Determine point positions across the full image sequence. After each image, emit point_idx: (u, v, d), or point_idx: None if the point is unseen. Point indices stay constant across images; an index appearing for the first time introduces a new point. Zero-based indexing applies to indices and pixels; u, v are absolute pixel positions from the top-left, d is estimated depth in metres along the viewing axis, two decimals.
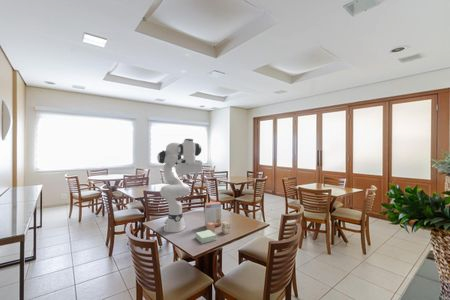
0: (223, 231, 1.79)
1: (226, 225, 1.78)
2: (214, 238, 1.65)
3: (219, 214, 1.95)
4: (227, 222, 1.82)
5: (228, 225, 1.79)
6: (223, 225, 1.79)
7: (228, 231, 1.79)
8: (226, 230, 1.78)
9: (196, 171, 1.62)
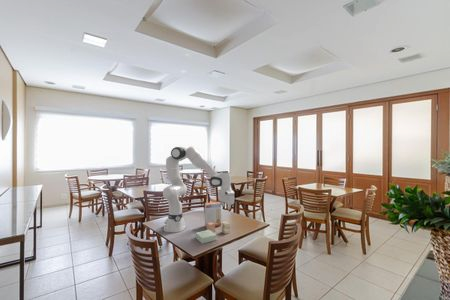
0: (223, 231, 1.79)
1: (226, 225, 1.78)
2: (214, 238, 1.65)
3: (219, 214, 1.95)
4: (227, 222, 1.82)
5: (228, 225, 1.79)
6: (223, 225, 1.79)
7: (228, 231, 1.79)
8: (226, 230, 1.78)
9: None
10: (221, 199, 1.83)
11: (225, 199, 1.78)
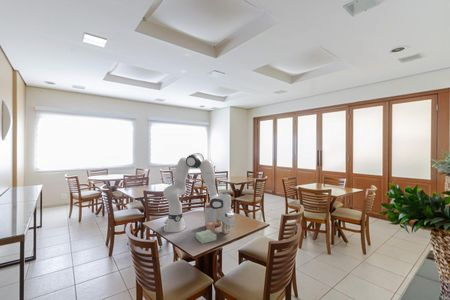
0: (223, 231, 1.79)
1: (226, 225, 1.78)
2: (214, 238, 1.65)
3: None
4: None
5: None
6: (223, 225, 1.79)
7: (228, 231, 1.79)
8: (226, 230, 1.78)
9: None
10: (221, 220, 1.83)
11: (225, 220, 1.78)
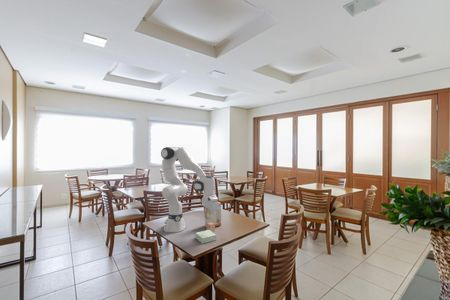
0: (206, 216, 1.68)
1: (209, 210, 1.67)
2: (214, 238, 1.65)
3: (219, 214, 1.95)
4: None
5: None
6: (206, 210, 1.68)
7: (211, 216, 1.68)
8: (209, 215, 1.67)
9: None
10: (204, 205, 1.72)
11: (208, 205, 1.67)
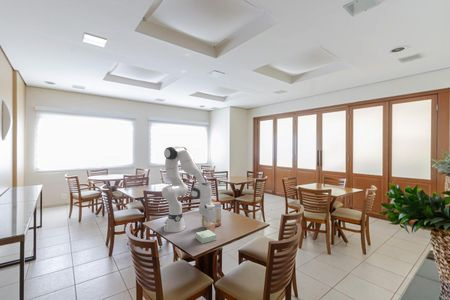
0: (203, 224, 1.66)
1: (206, 218, 1.65)
2: (214, 238, 1.65)
3: (219, 214, 1.95)
4: None
5: None
6: (203, 218, 1.66)
7: (208, 224, 1.66)
8: (206, 223, 1.65)
9: None
10: (201, 212, 1.70)
11: (205, 213, 1.65)
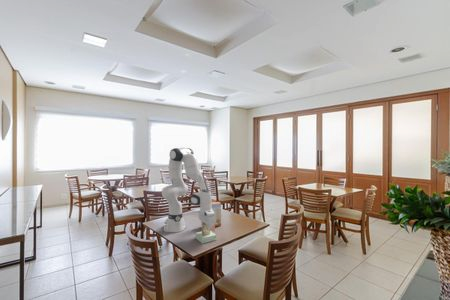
0: (203, 232, 1.66)
1: (206, 226, 1.65)
2: (214, 238, 1.65)
3: (219, 214, 1.95)
4: None
5: None
6: (203, 226, 1.66)
7: (208, 232, 1.66)
8: (206, 231, 1.65)
9: None
10: (201, 219, 1.70)
11: (205, 220, 1.65)
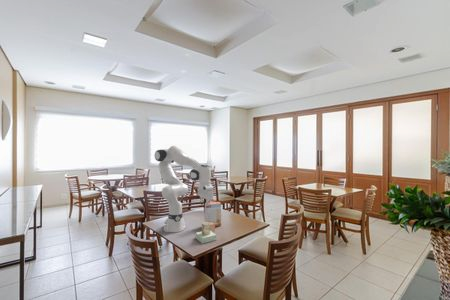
0: (203, 232, 1.66)
1: (206, 226, 1.65)
2: (214, 238, 1.65)
3: (219, 214, 1.95)
4: (207, 223, 1.69)
5: (208, 226, 1.66)
6: (203, 226, 1.66)
7: (208, 232, 1.66)
8: (206, 231, 1.65)
9: None
10: (200, 194, 1.70)
11: (204, 194, 1.65)
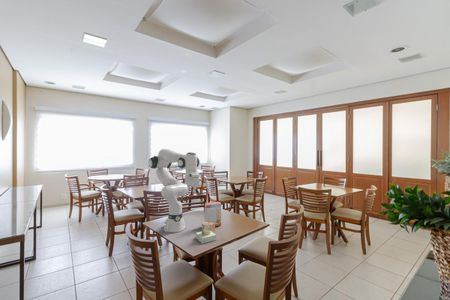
0: (203, 232, 1.66)
1: (206, 226, 1.65)
2: (214, 238, 1.65)
3: (219, 214, 1.95)
4: (207, 223, 1.69)
5: (208, 226, 1.66)
6: (203, 226, 1.66)
7: (208, 232, 1.66)
8: (206, 231, 1.65)
9: None
10: (187, 182, 1.69)
11: (190, 182, 1.64)
